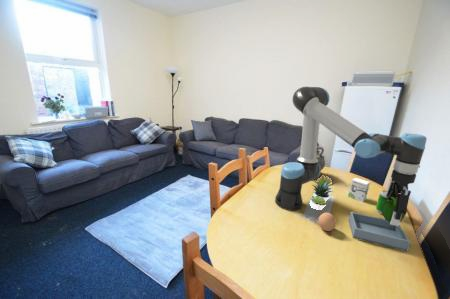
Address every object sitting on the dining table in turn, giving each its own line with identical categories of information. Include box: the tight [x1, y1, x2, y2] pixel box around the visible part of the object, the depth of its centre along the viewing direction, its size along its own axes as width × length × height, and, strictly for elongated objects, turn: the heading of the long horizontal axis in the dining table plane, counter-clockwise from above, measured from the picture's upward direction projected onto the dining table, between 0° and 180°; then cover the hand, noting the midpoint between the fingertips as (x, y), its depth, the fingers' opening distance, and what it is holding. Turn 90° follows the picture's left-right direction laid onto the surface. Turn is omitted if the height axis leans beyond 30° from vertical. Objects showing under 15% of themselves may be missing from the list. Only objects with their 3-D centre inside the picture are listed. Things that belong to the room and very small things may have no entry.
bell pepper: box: [381, 197, 408, 222], centre depth 90 cm, size 8×8×10 cm
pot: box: [295, 145, 326, 171], centre depth 158 cm, size 21×21×25 cm
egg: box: [317, 212, 337, 232], centre depth 97 cm, size 7×7×8 cm
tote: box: [348, 211, 411, 252], centre depth 95 cm, size 20×15×5 cm
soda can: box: [375, 189, 388, 215], centre depth 112 cm, size 8×8×12 cm
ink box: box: [347, 177, 371, 203], centre depth 126 cm, size 9×5×12 cm, turn 39°
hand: (390, 219), depth 92 cm, fingers closed on bell pepper, 8 cm apart
